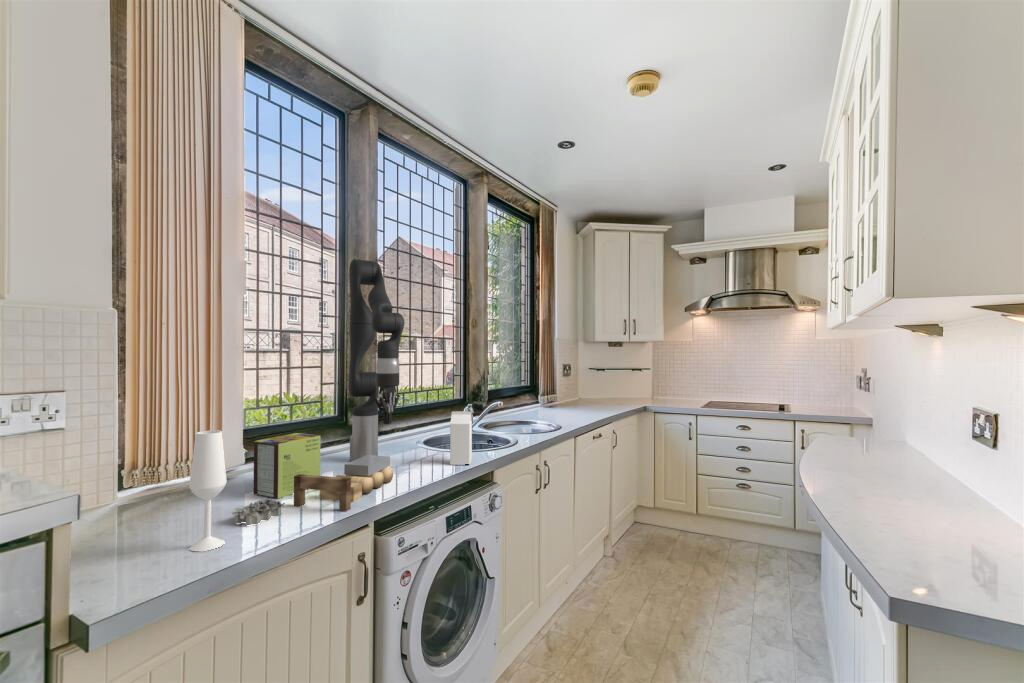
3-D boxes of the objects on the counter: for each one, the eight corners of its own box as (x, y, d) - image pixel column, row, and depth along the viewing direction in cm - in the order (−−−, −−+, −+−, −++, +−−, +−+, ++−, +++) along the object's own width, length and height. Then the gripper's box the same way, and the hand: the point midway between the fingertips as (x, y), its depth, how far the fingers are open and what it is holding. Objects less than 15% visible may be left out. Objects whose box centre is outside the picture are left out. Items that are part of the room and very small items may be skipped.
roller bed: (332, 492, 140) (332, 477, 140) (363, 478, 156) (363, 464, 156) (365, 495, 137) (365, 479, 137) (393, 480, 153) (393, 466, 153)
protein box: (320, 485, 147) (321, 434, 148) (277, 499, 133) (278, 443, 134) (296, 481, 152) (296, 432, 152) (252, 494, 138) (252, 440, 138)
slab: (344, 474, 143) (344, 464, 143) (367, 464, 156) (367, 455, 156) (368, 476, 141) (368, 465, 141) (390, 465, 154) (390, 456, 154)
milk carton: (469, 465, 173) (469, 412, 174) (450, 465, 173) (450, 412, 174) (471, 460, 180) (471, 410, 181) (452, 460, 180) (453, 410, 181)
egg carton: (251, 529, 112) (251, 511, 112) (228, 524, 115) (228, 507, 115) (287, 514, 122) (287, 498, 122) (265, 510, 125) (265, 494, 125)
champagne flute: (180, 552, 98) (182, 434, 99) (201, 539, 105) (203, 429, 106) (213, 552, 98) (215, 435, 99) (232, 539, 105) (233, 429, 106)
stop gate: (293, 506, 127) (293, 476, 128) (298, 504, 129) (299, 474, 130) (346, 511, 124) (346, 480, 124) (350, 508, 125) (350, 478, 126)
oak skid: (361, 498, 135) (361, 483, 135) (353, 502, 131) (353, 487, 131) (328, 495, 138) (329, 480, 138) (320, 499, 134) (320, 484, 134)
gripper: (388, 373, 153) (387, 427, 153) (407, 371, 166) (406, 421, 166) (367, 372, 155) (366, 426, 155) (387, 371, 168) (387, 420, 168)
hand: (387, 423), depth 160 cm, fingers closed
